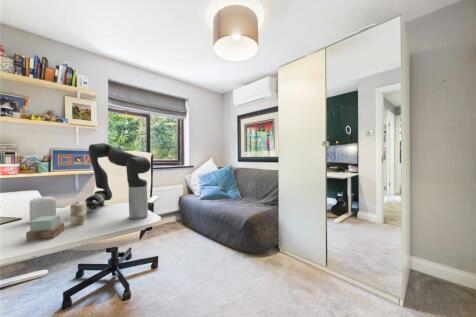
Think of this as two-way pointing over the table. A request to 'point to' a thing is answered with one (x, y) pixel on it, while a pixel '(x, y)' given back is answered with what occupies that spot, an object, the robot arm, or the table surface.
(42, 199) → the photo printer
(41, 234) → the bottom block
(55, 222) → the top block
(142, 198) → the robot arm
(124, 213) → the table surface
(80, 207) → the ash block
